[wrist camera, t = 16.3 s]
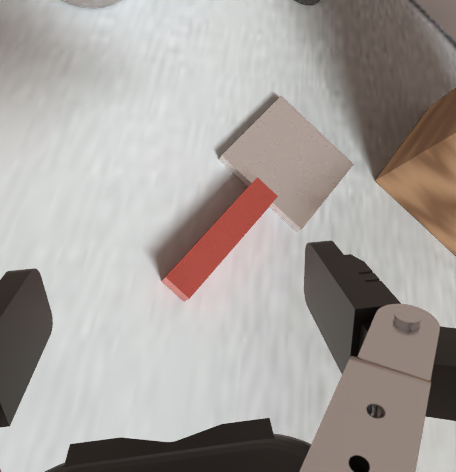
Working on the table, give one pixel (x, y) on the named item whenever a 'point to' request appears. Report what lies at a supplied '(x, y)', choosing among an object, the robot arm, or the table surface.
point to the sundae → (308, 2)
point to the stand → (428, 171)
